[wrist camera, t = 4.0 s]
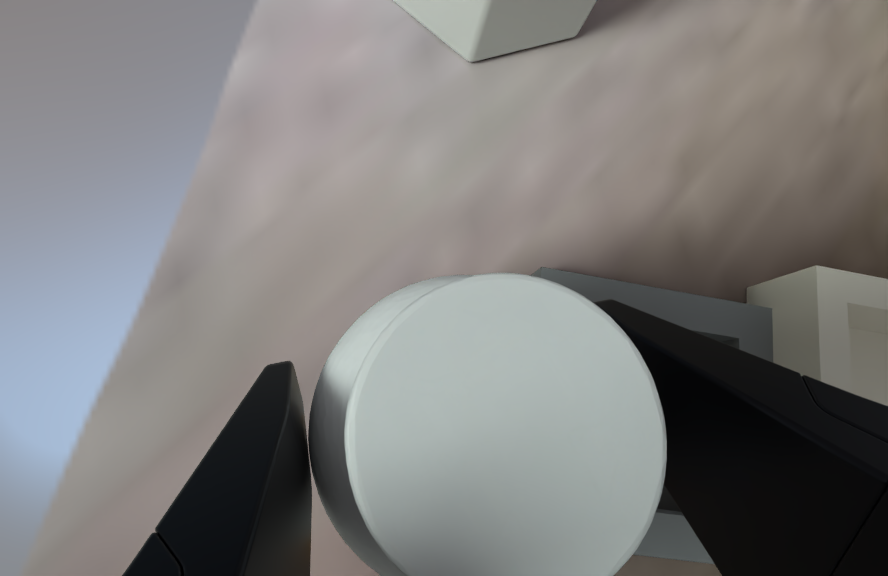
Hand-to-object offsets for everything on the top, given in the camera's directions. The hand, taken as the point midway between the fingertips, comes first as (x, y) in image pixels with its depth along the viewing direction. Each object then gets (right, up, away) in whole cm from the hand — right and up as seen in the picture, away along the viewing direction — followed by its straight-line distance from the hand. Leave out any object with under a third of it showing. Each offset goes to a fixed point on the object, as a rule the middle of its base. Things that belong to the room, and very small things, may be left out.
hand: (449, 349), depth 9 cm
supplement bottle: (-1, -3, +6) cm, 7 cm away
